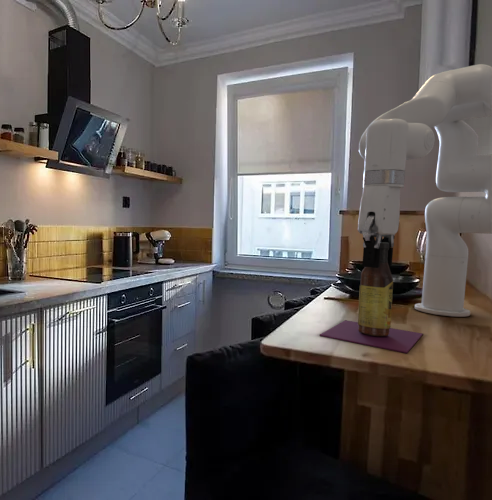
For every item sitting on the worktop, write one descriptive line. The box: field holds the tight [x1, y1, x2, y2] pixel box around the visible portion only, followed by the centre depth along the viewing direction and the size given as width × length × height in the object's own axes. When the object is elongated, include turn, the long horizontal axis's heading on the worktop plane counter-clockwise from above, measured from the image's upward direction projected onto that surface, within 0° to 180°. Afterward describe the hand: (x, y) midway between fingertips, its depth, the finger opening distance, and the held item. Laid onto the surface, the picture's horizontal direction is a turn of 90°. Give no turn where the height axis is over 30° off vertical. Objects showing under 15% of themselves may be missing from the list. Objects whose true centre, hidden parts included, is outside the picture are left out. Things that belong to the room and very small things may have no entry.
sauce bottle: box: [357, 242, 394, 337], centre depth 91 cm, size 6×6×20 cm
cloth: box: [319, 319, 424, 354], centre depth 91 cm, size 18×16×1 cm
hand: (377, 265), depth 90 cm, fingers open, 5 cm apart
